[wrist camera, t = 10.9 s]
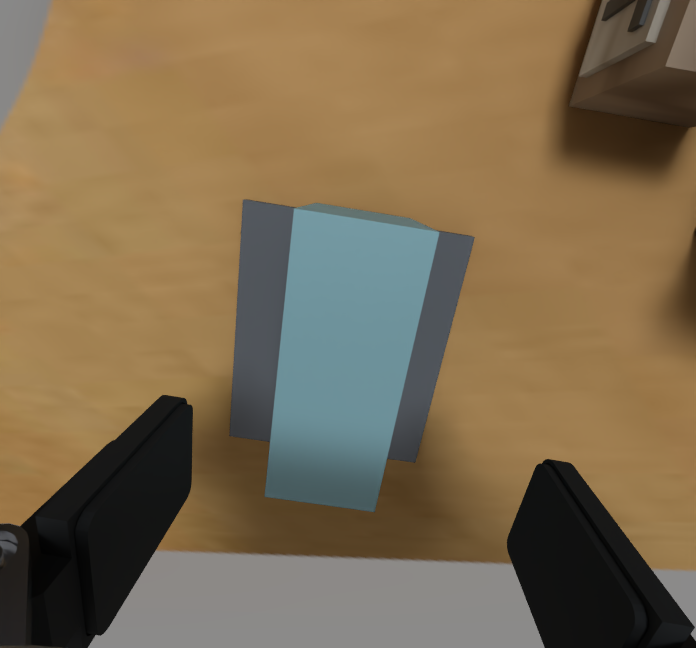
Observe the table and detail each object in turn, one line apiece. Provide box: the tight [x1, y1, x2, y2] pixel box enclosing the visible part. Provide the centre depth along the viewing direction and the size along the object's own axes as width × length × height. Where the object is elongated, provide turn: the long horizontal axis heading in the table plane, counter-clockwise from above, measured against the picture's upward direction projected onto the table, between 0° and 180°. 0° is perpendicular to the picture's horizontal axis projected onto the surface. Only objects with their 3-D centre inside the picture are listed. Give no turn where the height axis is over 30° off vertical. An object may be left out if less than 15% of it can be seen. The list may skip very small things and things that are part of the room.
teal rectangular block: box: [265, 203, 439, 512], centre depth 15 cm, size 4×10×6 cm, turn 171°
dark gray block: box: [230, 200, 475, 463], centre depth 18 cm, size 10×12×1 cm
